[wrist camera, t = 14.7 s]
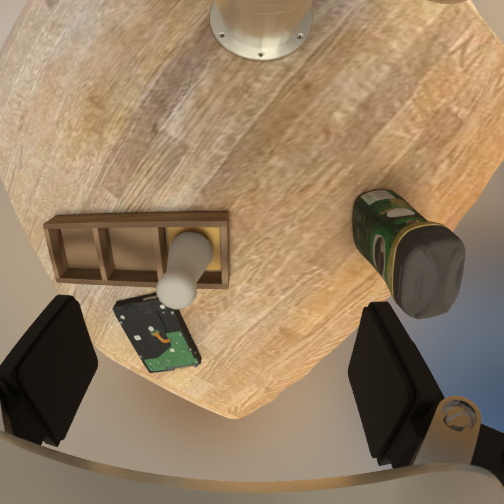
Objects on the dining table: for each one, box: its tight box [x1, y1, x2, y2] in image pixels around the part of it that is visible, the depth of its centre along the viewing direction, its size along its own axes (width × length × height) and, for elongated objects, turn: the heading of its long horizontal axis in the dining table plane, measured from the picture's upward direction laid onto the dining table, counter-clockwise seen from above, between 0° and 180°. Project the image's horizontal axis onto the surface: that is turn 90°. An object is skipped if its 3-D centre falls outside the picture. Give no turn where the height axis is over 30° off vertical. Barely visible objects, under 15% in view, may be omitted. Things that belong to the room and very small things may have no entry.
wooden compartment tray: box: [43, 211, 230, 289], centre depth 43 cm, size 10×27×4 cm, turn 89°
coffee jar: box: [353, 190, 465, 319], centre depth 35 cm, size 10×8×19 cm
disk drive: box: [113, 293, 201, 373], centre depth 50 cm, size 10×3×15 cm
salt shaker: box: [156, 231, 213, 309], centre depth 38 cm, size 6×6×13 cm
